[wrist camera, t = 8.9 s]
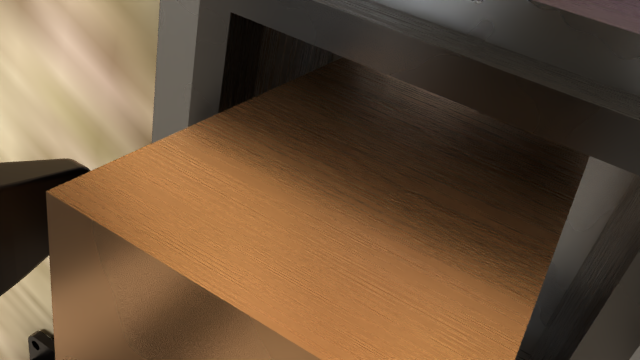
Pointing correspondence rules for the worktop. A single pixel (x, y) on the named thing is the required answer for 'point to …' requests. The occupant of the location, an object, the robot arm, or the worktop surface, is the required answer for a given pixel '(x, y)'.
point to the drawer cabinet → (471, 91)
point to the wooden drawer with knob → (313, 231)
